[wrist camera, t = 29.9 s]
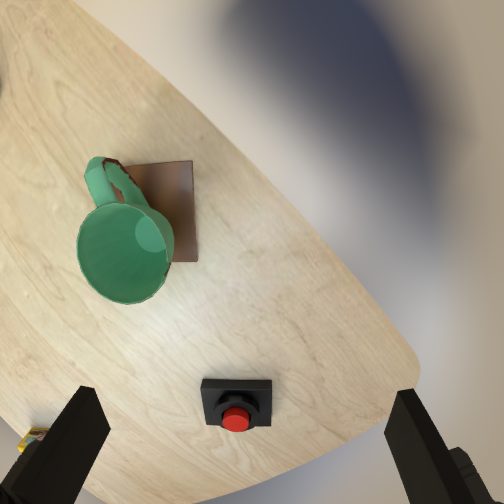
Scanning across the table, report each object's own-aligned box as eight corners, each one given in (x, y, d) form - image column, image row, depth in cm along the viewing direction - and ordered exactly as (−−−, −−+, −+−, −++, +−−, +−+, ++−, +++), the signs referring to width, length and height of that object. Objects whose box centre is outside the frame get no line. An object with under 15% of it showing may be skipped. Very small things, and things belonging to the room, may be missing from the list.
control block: (271, 379, 42) (272, 397, 38) (270, 417, 44) (271, 434, 40) (202, 378, 42) (198, 396, 38) (208, 415, 44) (204, 433, 41)
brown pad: (192, 160, 34) (191, 160, 34) (197, 260, 38) (196, 261, 37) (102, 169, 35) (100, 169, 34) (110, 261, 38) (109, 262, 37)
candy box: (72, 429, 48) (56, 454, 40) (78, 435, 49) (63, 461, 41) (31, 426, 50) (15, 447, 42) (36, 432, 50) (21, 453, 42)
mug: (204, 257, 37) (185, 288, 27) (136, 281, 38) (102, 315, 28) (161, 142, 33) (125, 134, 24) (94, 175, 35) (47, 180, 25)
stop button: (248, 407, 39) (248, 415, 37) (249, 423, 40) (249, 432, 38) (222, 406, 39) (221, 415, 38) (224, 423, 40) (223, 431, 38)
